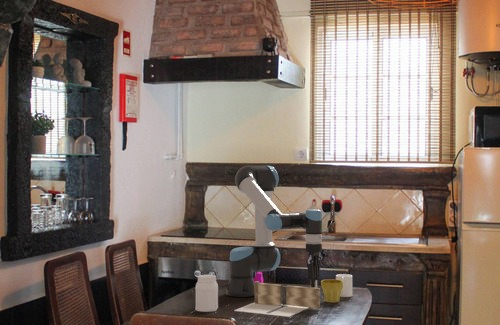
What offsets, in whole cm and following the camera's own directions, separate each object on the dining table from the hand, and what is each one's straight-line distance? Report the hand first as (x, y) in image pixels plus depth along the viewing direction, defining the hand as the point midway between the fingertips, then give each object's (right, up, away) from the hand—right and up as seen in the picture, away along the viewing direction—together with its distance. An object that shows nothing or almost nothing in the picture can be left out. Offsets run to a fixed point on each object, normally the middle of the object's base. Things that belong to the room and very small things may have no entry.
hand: (313, 294), depth 327 cm
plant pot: (+10, -6, +12) cm, 17 cm away
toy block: (-30, -6, +56) cm, 64 cm away
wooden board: (-6, -5, -4) cm, 9 cm away
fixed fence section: (-21, -6, +4) cm, 22 cm away
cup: (+17, -6, +26) cm, 31 cm away
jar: (-49, -6, -5) cm, 50 cm away
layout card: (-20, -6, -6) cm, 21 cm away
